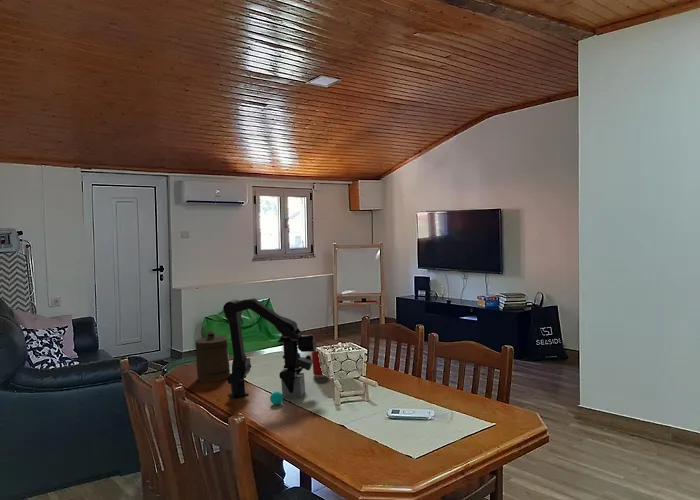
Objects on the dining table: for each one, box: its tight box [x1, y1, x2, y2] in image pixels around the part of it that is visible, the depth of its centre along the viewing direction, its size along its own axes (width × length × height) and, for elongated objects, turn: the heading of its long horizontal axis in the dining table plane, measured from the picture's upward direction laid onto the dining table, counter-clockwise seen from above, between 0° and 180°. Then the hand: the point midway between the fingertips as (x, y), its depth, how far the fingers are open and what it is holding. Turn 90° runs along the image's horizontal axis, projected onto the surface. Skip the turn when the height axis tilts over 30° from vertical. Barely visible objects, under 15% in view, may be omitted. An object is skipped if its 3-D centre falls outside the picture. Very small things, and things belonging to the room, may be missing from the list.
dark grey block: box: [280, 372, 306, 399], centre depth 241 cm, size 8×8×8 cm
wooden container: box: [195, 330, 231, 382], centre depth 276 cm, size 15×15×22 cm
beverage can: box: [311, 348, 325, 378], centre depth 268 cm, size 6×6×12 cm
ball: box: [269, 391, 284, 406], centre depth 230 cm, size 5×5×5 cm
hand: (293, 389), depth 241 cm, fingers closed on dark grey block, 8 cm apart
